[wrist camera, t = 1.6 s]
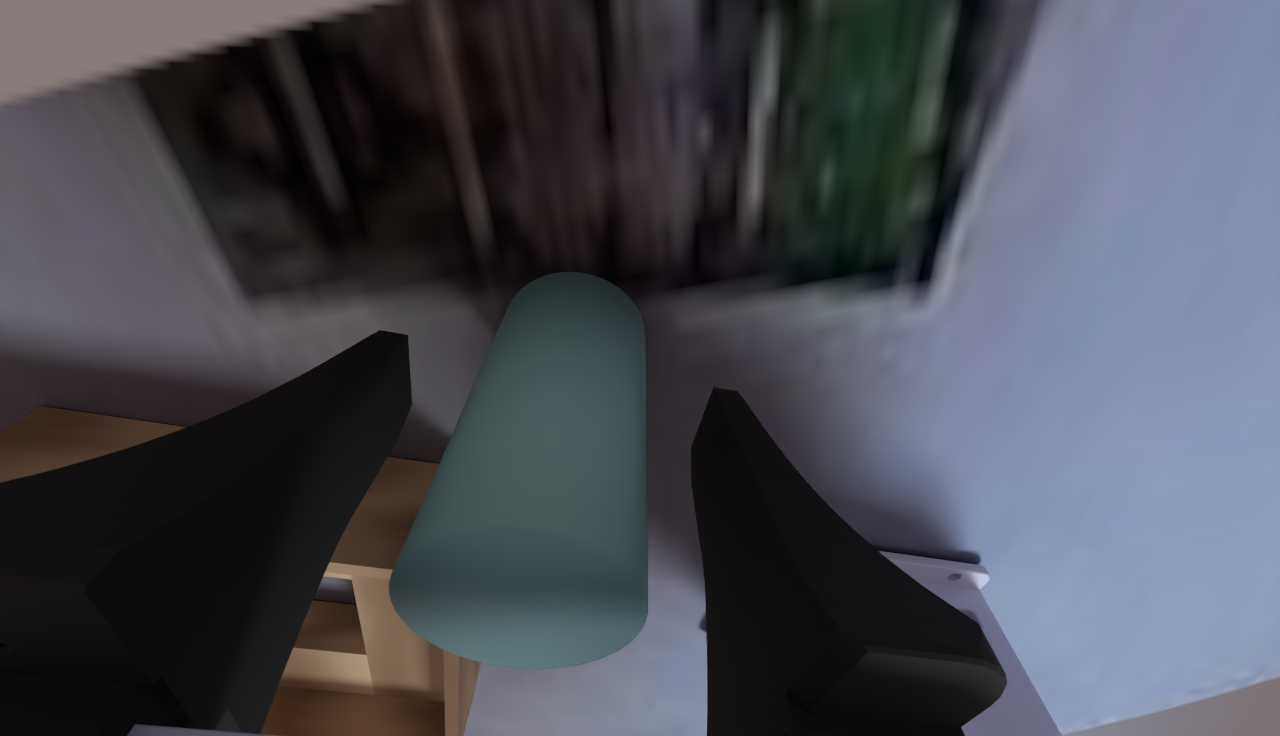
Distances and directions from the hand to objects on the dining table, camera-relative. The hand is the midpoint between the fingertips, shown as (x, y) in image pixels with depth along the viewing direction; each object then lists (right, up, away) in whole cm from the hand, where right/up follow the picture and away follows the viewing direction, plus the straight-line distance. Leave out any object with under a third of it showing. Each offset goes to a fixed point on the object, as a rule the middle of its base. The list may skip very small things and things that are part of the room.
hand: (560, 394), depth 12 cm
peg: (0, +2, +2) cm, 3 cm away
